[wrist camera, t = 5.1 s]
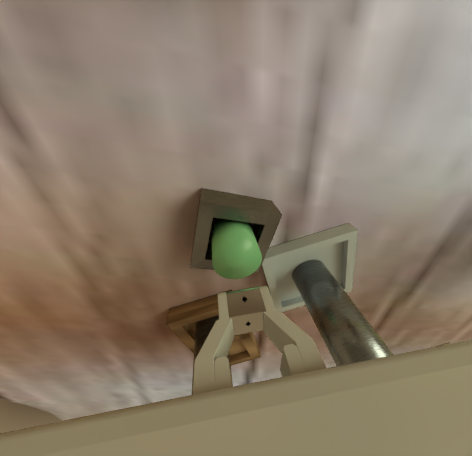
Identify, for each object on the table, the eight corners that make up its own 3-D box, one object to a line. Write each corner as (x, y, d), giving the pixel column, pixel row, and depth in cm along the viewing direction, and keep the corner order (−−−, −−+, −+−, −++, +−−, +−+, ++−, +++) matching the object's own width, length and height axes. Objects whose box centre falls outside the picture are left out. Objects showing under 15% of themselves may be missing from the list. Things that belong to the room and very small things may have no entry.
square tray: (257, 251, 22) (260, 260, 21) (349, 222, 21) (357, 229, 20) (273, 304, 28) (276, 313, 26) (345, 282, 27) (351, 291, 26)
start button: (215, 213, 17) (217, 238, 13) (257, 219, 18) (268, 244, 14) (208, 248, 19) (208, 277, 15) (246, 252, 19) (253, 280, 16)
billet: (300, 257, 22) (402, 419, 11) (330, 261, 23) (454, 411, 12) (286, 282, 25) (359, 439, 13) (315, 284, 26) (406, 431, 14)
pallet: (169, 309, 25) (166, 324, 23) (231, 289, 25) (233, 304, 23) (210, 357, 34) (211, 371, 32) (257, 343, 33) (260, 357, 32)
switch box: (201, 188, 17) (200, 201, 14) (271, 200, 18) (282, 214, 16) (192, 248, 20) (190, 267, 18) (252, 254, 22) (258, 273, 19)
